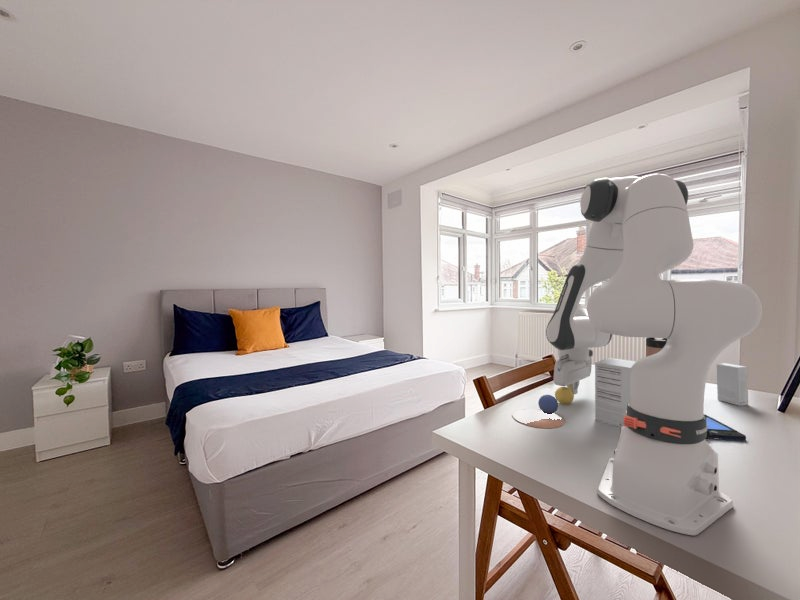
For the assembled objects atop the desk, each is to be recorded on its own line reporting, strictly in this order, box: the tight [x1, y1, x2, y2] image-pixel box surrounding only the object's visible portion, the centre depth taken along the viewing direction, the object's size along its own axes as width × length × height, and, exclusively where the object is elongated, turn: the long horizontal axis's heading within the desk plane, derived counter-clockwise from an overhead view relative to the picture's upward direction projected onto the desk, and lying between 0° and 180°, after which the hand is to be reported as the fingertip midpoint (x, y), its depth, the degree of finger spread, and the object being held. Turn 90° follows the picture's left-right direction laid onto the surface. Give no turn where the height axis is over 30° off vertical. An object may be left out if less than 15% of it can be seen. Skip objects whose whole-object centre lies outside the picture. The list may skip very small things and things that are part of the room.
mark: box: [525, 418, 565, 429], centre depth 96 cm, size 14×14×1 cm
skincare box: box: [716, 362, 749, 407], centre depth 106 cm, size 6×4×12 cm
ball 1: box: [537, 394, 559, 414], centre depth 100 cm, size 6×6×6 cm
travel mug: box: [645, 337, 667, 357], centre depth 111 cm, size 8×8×20 cm
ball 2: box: [554, 386, 575, 405], centre depth 107 cm, size 6×6×6 cm
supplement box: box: [594, 357, 637, 428], centre depth 93 cm, size 10×9×17 cm
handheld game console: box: [703, 413, 747, 442], centre depth 88 cm, size 16×13×9 cm
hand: (572, 394), depth 110 cm, fingers closed
